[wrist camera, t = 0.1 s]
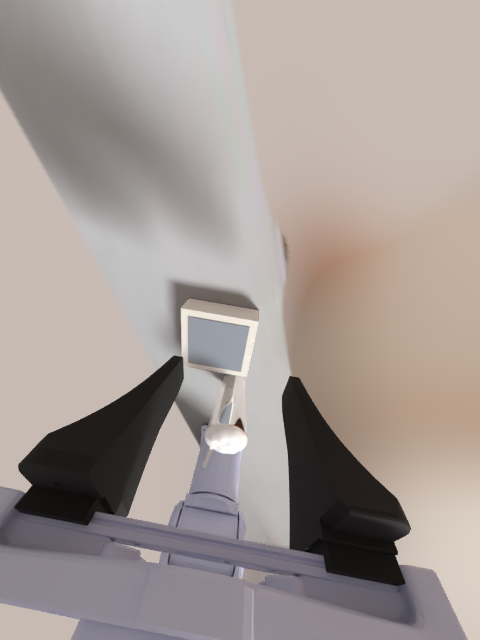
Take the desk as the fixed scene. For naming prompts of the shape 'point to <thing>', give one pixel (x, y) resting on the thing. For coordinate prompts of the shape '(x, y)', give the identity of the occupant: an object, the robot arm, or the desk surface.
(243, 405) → the milkshake
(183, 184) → the desk surface
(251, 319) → the plinth
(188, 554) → the robot arm
